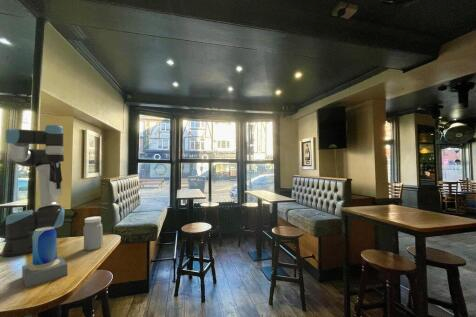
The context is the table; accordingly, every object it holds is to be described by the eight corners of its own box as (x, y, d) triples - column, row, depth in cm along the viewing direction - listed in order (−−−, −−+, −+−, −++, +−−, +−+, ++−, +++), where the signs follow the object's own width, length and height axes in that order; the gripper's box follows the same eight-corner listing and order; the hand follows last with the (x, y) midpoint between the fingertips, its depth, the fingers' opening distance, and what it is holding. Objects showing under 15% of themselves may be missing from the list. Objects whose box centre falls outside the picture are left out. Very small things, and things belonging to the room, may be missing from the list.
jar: (81, 252, 130) (81, 220, 130) (85, 246, 139) (85, 217, 139) (101, 249, 134) (101, 218, 134) (104, 243, 143) (103, 215, 143)
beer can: (42, 268, 98) (41, 231, 99) (27, 267, 100) (27, 231, 101) (61, 260, 107) (60, 226, 107) (47, 259, 109) (46, 225, 109)
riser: (22, 277, 103) (22, 265, 103) (61, 266, 113) (60, 255, 113) (25, 288, 93) (25, 275, 93) (67, 274, 103) (67, 263, 104)
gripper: (42, 155, 127) (42, 193, 127) (49, 153, 110) (50, 197, 110) (59, 155, 132) (59, 191, 132) (68, 153, 115) (69, 195, 115)
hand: (55, 194), depth 121 cm, fingers open, 13 cm apart
